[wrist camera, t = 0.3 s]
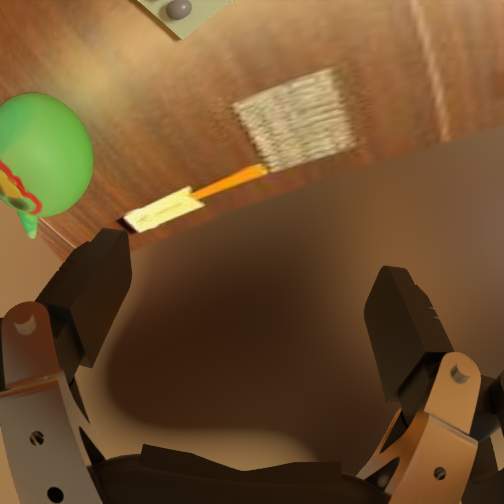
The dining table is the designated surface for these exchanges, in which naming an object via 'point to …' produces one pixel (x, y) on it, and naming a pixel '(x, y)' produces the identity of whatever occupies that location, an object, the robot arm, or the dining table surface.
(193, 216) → the dining table surface
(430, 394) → the robot arm
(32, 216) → the toy bird
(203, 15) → the board
